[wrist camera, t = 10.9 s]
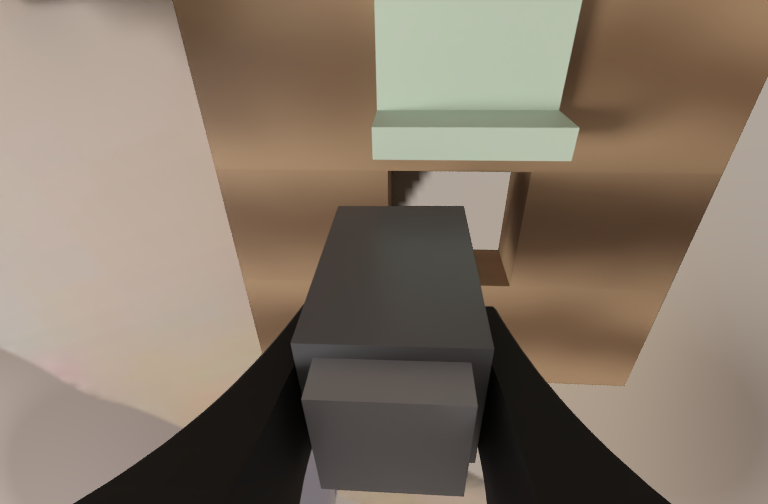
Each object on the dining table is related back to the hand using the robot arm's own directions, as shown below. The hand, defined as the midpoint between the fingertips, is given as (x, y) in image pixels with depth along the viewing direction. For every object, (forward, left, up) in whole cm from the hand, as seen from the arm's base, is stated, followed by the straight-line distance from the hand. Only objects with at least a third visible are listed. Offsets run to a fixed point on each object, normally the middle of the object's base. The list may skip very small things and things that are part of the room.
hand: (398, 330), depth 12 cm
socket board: (0, -2, -9) cm, 9 cm away
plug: (0, 0, -3) cm, 3 cm away
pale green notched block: (+7, -2, -6) cm, 9 cm away
